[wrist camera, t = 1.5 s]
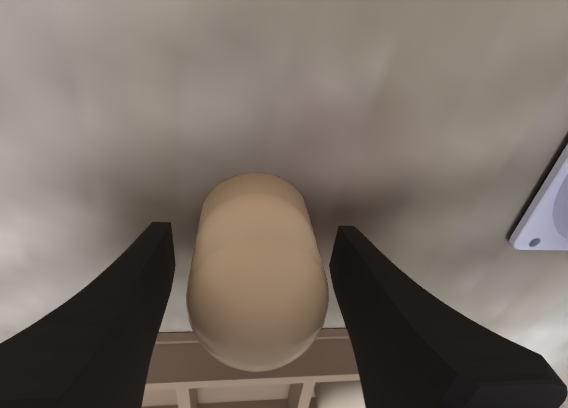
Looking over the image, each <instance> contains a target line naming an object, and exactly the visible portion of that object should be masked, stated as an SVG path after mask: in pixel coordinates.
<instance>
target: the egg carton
mask: <svg viewBox="0 0 568 408" xmlns="http://www.w3.org/2000/svg"><path fill="white" fill-rule="evenodd" d="M356 380H360V377H359V373H358V368H357V364H356V359H355V355H354V351H353V347H352V344H351V340H350V337H349V334H348V331H347V328H346V329H321V331H320V333H319V334H318V336H317V338H316V339H315V341H314V342H313V343H312V345H311V346H310V347H309V348H308V349H307V350H306V351H305V352H304V353H303V354H302V355H301V356H300V357H298V358H297V359H296V360H294V361H292V362H291V363H289V364H287V365H285V366H282V367H280V368H277V369H274V370H270V371H263V372H249V371H243V370H239V369H235V368H232V367H229V366H227V365H225V364H223V363H222V362H220V361H218V360H217V359H215V358H214V357H213V356H211V355H210V354H209V353H208V352H207V351H206V350H205V349H204V348H203V346H202V345H201V344H200V342H199V341H198V339H197V338H196V336H195V334H194V332H187V333H158V335H157V339H156V342H155V345H154V349H153V353H152V356H151V360H150V365H149V370H148V375H147V380H146V385H145V390H144V396H143V401H142V407H141V408H317V406H316V400H315V394H314V386H315V382H336V381H356Z"/></svg>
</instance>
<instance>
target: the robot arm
mask: <svg viewBox="0 0 568 408" xmlns="http://www.w3.org/2000/svg"><path fill="white" fill-rule="evenodd" d="M509 242H510V244H511V245H512V246H513V247H514V248H515V249H517V250H568V144H567V145H566V147H565V149H564V150H563V152H562V154H561V155H560V157H559V158H558V160H557V162H556V163H555V165H554V167H553V168H552V170H551V172H550V173H549V175H548V177H547V178H546V180H545V181H544V183H543V185H542V186H541V188H540V190H539V191H538V193H537V195H536V196H535V198H534V199H533V201H532V203H531V204H530V206H529V208H528V209H527V211H526V213H525V214H524V216H523V217H522V219H521V221H520V222H519V224H518V226H517V227H516V229H515V231H514V232H513V234H512V236H511V237H510V240H509ZM329 267H330V273H331V278H332V283H333V288H334V292H335V295H336V298H337V301H338V304H339V307H340V310H341V313H342V316H343V319H344V322H345V325H346V328H347V331H348V334H349V337H350V340H351V344H352V347H353V351H354V355H355V359H356V364H357V368H358V373H359V377H360V382H361V387H362V392H363V397H364V402H365V407H366V408H559V407H560V406H561V405H562V403H563V402H564V401H565V399H566V396H567V392H568V391H567V386H566V385H565V384H564V383H563V381H562V380H561V379H560V378H559V376H558V375H557V374H556V373H555V371H554V370H553V369H552V368H551V366H550V365H549V364H548V363H547V361H546V360H545V359H544V358H543V357H542V355H540V354H538V353H535V352H533V351H531V350H529V349H527V348H525V347H523V346H521V345H518V344H516V343H514V342H512V341H510V340H508V339H506V338H504V337H502V336H500V335H498V334H496V333H494V332H492V331H490V330H488V329H487V328H485V327H483V326H481V325H479V324H477V323H476V322H474V321H472V320H470V319H469V318H467V317H465V316H464V315H462V314H461V313H459V312H457V311H456V310H454V309H453V308H451V307H449V306H448V305H446V304H445V303H443V302H442V301H440V300H439V299H437V298H436V297H435V296H433V295H432V294H430V293H429V292H428V291H426V290H425V289H423V288H422V287H421V286H419V285H418V284H417V283H416V282H414V281H413V280H412V279H411V278H409V277H408V276H407V275H406V274H405V273H403V272H402V271H401V270H400V269H399V268H398V267H397V266H395V265H394V264H393V263H392V262H391V261H390V260H389V259H388V258H387V257H386V256H384V255H383V254H382V253H381V252H380V251H379V250H378V249H377V248H376V247H375V246H374V245H373V244H372V243H371V242H370V241H369V240H368V239H367V238H366V237H365V236H364V235H363V234H362V233H361V232H360V231H359V230H358V229H357V228H356V227H354V226H339V227H338V231H337V235H336V239H335V243H334V247H333V252H332V256H331V260H330V264H329ZM174 271H175V256H174V247H173V237H172V228H171V222H153V223H151V224H150V225H149V226H148V227H147V228H146V230H145V231H144V232H143V233H142V234H141V235H140V236H139V237H138V238H137V239H136V240H135V241H134V242H133V243H132V244H131V246H130V247H129V248H128V249H127V250H126V251H125V252H124V253H123V254H122V255H121V256H120V257H119V258H118V259H117V260H116V261H114V262H113V263H112V264H111V265H110V266H109V267H108V268H107V269H106V270H105V271H103V272H102V273H101V274H100V275H99V276H98V277H97V278H96V279H95V280H93V281H92V282H91V283H90V284H89V285H87V286H86V287H85V288H84V289H82V290H81V291H80V292H79V293H77V294H76V295H75V296H73V297H72V298H71V299H69V300H68V301H67V302H65V303H64V304H63V305H61V306H60V307H58V308H57V309H55V310H54V311H52V312H51V313H49V314H48V315H46V316H45V317H43V318H42V319H40V320H39V321H37V322H36V323H34V324H32V325H31V326H29V327H28V328H26V329H24V330H23V331H21V332H19V333H18V334H16V335H14V336H13V337H11V338H9V339H7V340H6V341H4V342H2V343H0V408H141V407H142V401H143V396H144V390H145V385H146V380H147V375H148V370H149V365H150V360H151V356H152V353H153V349H154V345H155V342H156V339H157V335H158V332H159V329H160V326H161V322H162V319H163V316H164V312H165V309H166V306H167V302H168V299H169V296H170V292H171V288H172V283H173V277H174Z"/></svg>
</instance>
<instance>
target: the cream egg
mask: <svg viewBox="0 0 568 408" xmlns="http://www.w3.org/2000/svg"><path fill="white" fill-rule="evenodd" d="M314 394H315V400H316V406H317V408H366V407H365V402H364V397H363V392H362V387H361V382H360V380H356V381H336V382H315V386H314Z"/></svg>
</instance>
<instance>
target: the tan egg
mask: <svg viewBox="0 0 568 408" xmlns="http://www.w3.org/2000/svg"><path fill="white" fill-rule="evenodd" d="M328 302H329V298H328V284H327V279H326V275H325V271H324V267H323V264H322V260H321V257H320V253H319V250H318V246H317V243H316V239H315V236H314V232H313V229H312V225H311V222H310V218H309V215H308V211H307V208H306V204H305V202H304V199H303V197H302V196H301V194H300V193H299V191H298V190H297V189H296V188H295V187H294V186H293V185H292V184H290V183H289V182H287V181H286V180H284V179H282V178H280V177H277V176H274V175H271V174H266V173H245V174H240V175H236V176H233V177H231V178H228V179H227V180H225V181H223V182H221V183H220V184H218V185H217V186H216V187H215V188H214V189H213V190H212V191H211V192H210V193H209V195H208V196H207V198H206V199H205V201H204V204H203V207H202V211H201V216H200V222H199V227H198V232H197V238H196V243H195V248H194V253H193V259H192V264H191V269H190V274H189V280H188V285H187V292H186V307H187V314H188V318H189V322H190V325H191V327H192V330H193V332H194V334H195V336H196V338H197V339H198V341H199V342H200V344H201V345H202V346H203V348H204V349H205V350H206V351H207V352H208V353H209V354H210V355H211V356H213V357H214V358H215V359H217V360H218V361H220V362H222V363H223V364H225V365H227V366H229V367H232V368H235V369H239V370H243V371H249V372H263V371H270V370H274V369H277V368H280V367H282V366H285V365H287V364H289V363H291V362H292V361H294V360H296V359H297V358H298V357H300V356H301V355H302V354H303V353H304V352H305V351H306V350H307V349H308V348H309V347H310V346H311V345H312V343H313V342H314V341H315V339H316V338H317V336H318V334H319V333H320V331H321V329H322V327H323V324H324V321H325V318H326V315H327V309H328Z"/></svg>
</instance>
